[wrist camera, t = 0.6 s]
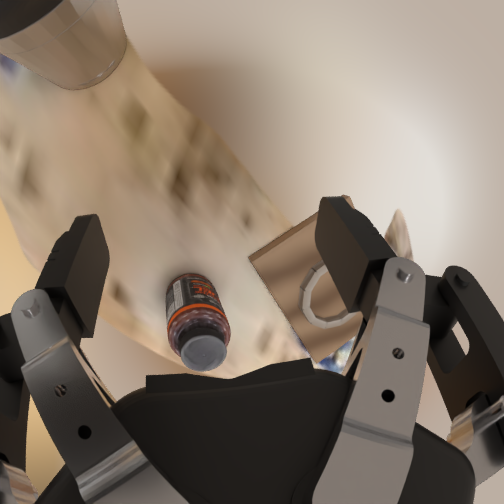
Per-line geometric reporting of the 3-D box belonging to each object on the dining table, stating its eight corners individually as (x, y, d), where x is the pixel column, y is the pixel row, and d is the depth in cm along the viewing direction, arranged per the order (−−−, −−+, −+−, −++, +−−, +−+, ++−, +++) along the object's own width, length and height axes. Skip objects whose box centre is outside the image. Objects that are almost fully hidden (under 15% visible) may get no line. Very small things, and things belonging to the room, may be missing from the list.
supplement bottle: (225, 284, 35) (252, 340, 25) (201, 324, 36) (218, 387, 26) (179, 263, 33) (189, 316, 22) (156, 306, 34) (158, 369, 23)
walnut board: (248, 257, 35) (255, 266, 32) (343, 194, 36) (355, 198, 33) (312, 357, 43) (320, 368, 41) (383, 304, 44) (393, 312, 42)
